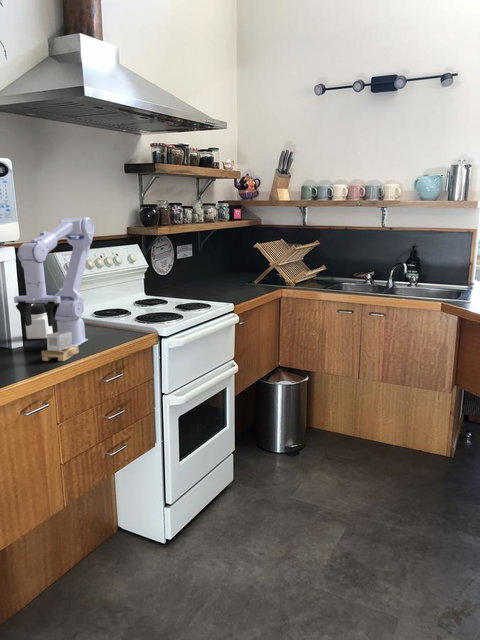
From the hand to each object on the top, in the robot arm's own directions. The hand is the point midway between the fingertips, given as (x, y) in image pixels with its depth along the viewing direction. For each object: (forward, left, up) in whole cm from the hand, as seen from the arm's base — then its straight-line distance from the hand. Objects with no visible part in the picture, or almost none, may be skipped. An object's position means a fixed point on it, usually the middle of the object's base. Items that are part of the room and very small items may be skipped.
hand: (40, 325), depth 164 cm
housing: (0, +6, -7) cm, 10 cm away
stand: (0, +6, -10) cm, 12 cm away
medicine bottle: (-24, -15, -10) cm, 30 cm away
